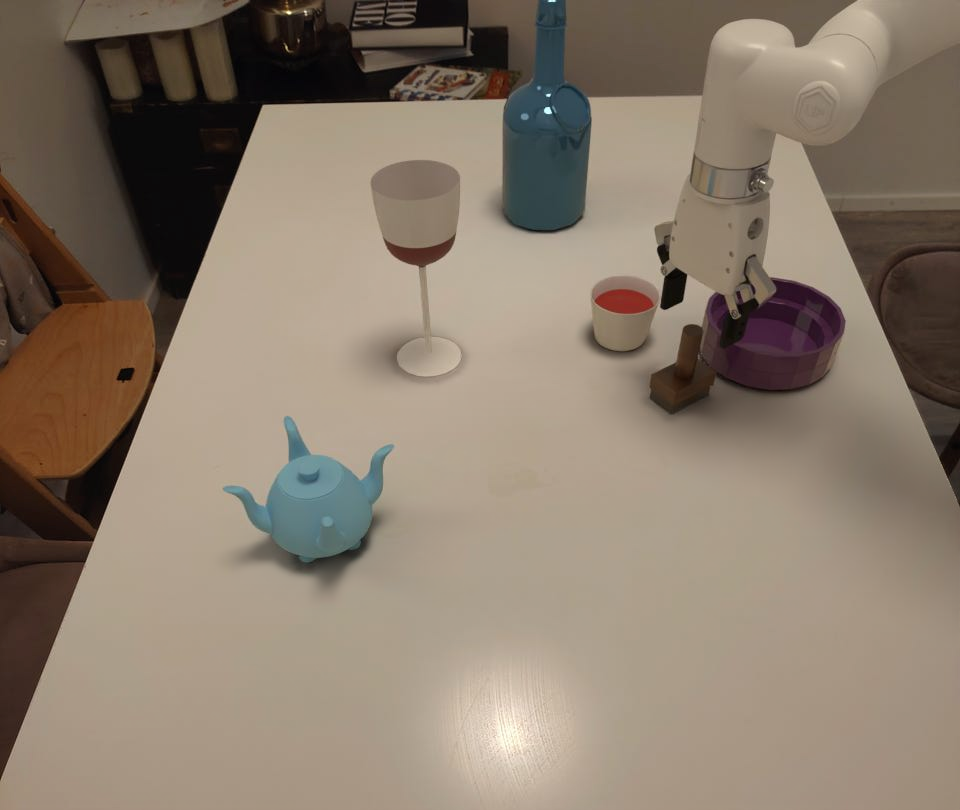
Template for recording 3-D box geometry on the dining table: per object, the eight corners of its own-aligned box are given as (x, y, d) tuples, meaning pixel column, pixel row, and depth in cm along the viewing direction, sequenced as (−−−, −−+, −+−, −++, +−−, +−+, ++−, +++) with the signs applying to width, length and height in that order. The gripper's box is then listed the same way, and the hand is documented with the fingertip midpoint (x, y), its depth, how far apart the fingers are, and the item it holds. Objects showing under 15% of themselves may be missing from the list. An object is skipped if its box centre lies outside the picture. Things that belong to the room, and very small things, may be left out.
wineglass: (387, 340, 116) (366, 165, 97) (460, 331, 117) (452, 155, 98) (396, 382, 111) (375, 205, 92) (472, 372, 111) (466, 194, 93)
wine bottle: (484, 212, 135) (480, -17, 111) (543, 183, 141) (552, -42, 116) (544, 245, 129) (555, 10, 105) (604, 213, 134) (627, -17, 110)
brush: (687, 377, 110) (701, 311, 102) (711, 394, 108) (727, 328, 100) (647, 397, 108) (658, 331, 100) (671, 415, 106) (684, 349, 98)
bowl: (761, 299, 120) (772, 263, 115) (859, 360, 111) (874, 322, 107) (671, 344, 114) (678, 307, 110) (766, 411, 106) (778, 374, 101)
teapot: (243, 555, 93) (218, 487, 85) (307, 478, 100) (289, 408, 92) (345, 592, 90) (329, 525, 82) (403, 509, 97) (394, 440, 89)
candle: (596, 312, 119) (600, 269, 114) (659, 324, 117) (667, 281, 112) (578, 350, 114) (582, 307, 109) (644, 362, 112) (651, 319, 107)
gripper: (821, 192, 82) (778, 346, 96) (695, 131, 91) (672, 281, 105) (766, 217, 80) (731, 372, 94) (642, 152, 89) (626, 302, 103)
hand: (700, 323), depth 99 cm, fingers open, 9 cm apart
